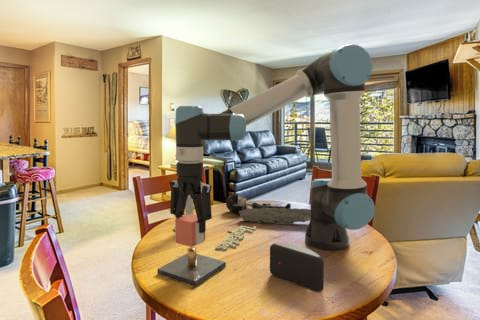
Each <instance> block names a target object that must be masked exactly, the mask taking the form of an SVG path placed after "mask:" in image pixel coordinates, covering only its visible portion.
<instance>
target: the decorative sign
mask: <svg viewBox="0 0 480 320" xmlns="http://www.w3.org/2000/svg"><path fill="white" fill-rule="evenodd" d="M256 230H257V226H256V225H253V227H250V226H245V225H239V227H238V228H236V229H235V230H233V229H231V228H229V229H227V233H230V234H229V235H228V236H227V237H226V238H224V239H223V240H222V241H221V242H220V243H218V244H217V245H215V250H216V251H217V250H218V251H220V250H222V251H223V252H226V251H227V250H228V249H229V248H232V249H237V246H240V242H241V241H243V240H244V238H245V236H244V234H245V233H249V234H253V233H254V231H256ZM237 240H238V241H237Z"/></svg>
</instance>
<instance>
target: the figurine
mask: <svg viewBox="0 0 480 320" xmlns="http://www.w3.org/2000/svg"><path fill="white" fill-rule="evenodd" d="M291 205H292V204H291V203H287V204H286V205H285V206H284V205H283V206H281V205H279V206H278V205H272V203H270V202H267V203H258V202H256V201H247V198H246V197H243V196H241V195H239V194H231V195H229V196H228V197H227V198H226V200H225V206H226V209H227V210H229V211H230V212H232V213H237V214H239V211H241V210H244V209H253V208H254V209H261V208H262V209H263V208H286V209H289V208H290V209H292V208H291V207H292V206H291Z"/></svg>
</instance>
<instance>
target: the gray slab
mask: <svg viewBox="0 0 480 320" xmlns="http://www.w3.org/2000/svg"><path fill="white" fill-rule="evenodd" d="M226 265H227V263H226V261H224V260H221V259H217V258H213V257H209V256H207V255H202V254H200V253H199V254H198V253H197V247H195V246H193V247H190V246H189V247H188V248H187V253H186V254H185V253H184V254H183V255H182V256H180V257H178V258H175V259H174V260H172V261H170V262H168V263H166V264H164V265H161V267H160V266H159V268H157V275H160V276H162V277H165V278H169V279H171V280H174V281H176V282H180V283H183V284H186V285H188V286H192V287H195V288H197V287H198V286H199V285H201V284H202V283H204V282H206V280H208V279H210V278H211V277H213V276H215V274H218V272H220V271H222V269H224V268H226Z"/></svg>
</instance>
